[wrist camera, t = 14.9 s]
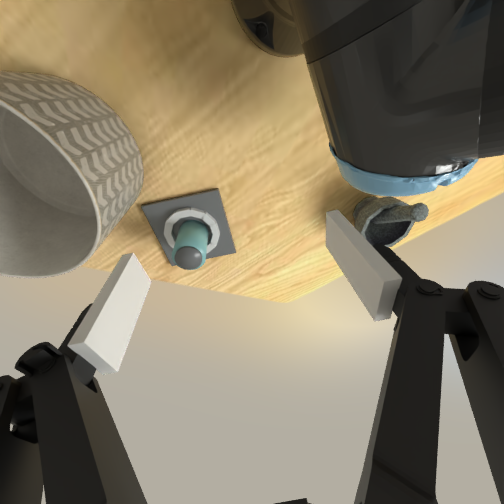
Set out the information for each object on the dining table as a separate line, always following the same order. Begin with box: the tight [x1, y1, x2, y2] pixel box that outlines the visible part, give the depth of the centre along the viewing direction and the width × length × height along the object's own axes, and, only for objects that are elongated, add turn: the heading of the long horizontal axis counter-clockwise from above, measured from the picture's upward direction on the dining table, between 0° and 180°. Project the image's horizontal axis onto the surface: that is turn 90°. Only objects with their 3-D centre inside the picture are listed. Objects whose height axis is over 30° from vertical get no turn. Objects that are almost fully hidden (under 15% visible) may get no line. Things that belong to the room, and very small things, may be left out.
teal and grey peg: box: [172, 220, 209, 270], centre depth 40 cm, size 6×6×9 cm
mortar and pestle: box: [353, 196, 429, 247], centre depth 41 cm, size 11×9×12 cm
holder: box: [141, 189, 236, 266], centre depth 44 cm, size 14×14×2 cm
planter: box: [0, 71, 144, 278], centre depth 27 cm, size 19×19×18 cm
